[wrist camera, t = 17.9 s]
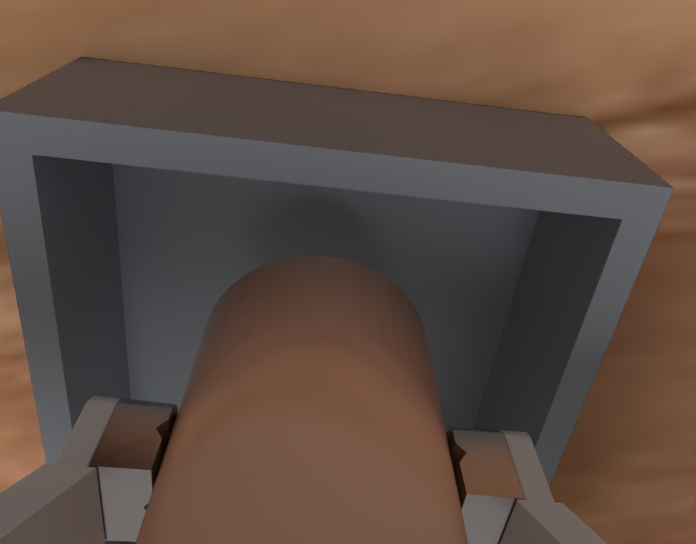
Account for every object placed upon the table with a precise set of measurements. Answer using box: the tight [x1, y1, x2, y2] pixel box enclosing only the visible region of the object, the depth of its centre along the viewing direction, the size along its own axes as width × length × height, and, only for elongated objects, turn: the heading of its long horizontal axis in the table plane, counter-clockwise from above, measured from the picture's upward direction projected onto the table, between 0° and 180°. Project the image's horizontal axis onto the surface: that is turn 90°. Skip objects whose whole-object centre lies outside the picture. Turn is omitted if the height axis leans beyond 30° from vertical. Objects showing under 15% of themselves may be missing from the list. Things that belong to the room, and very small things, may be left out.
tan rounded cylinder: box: [135, 256, 468, 544], centre depth 11 cm, size 5×5×7 cm
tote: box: [0, 57, 674, 544], centre depth 18 cm, size 18×14×5 cm
